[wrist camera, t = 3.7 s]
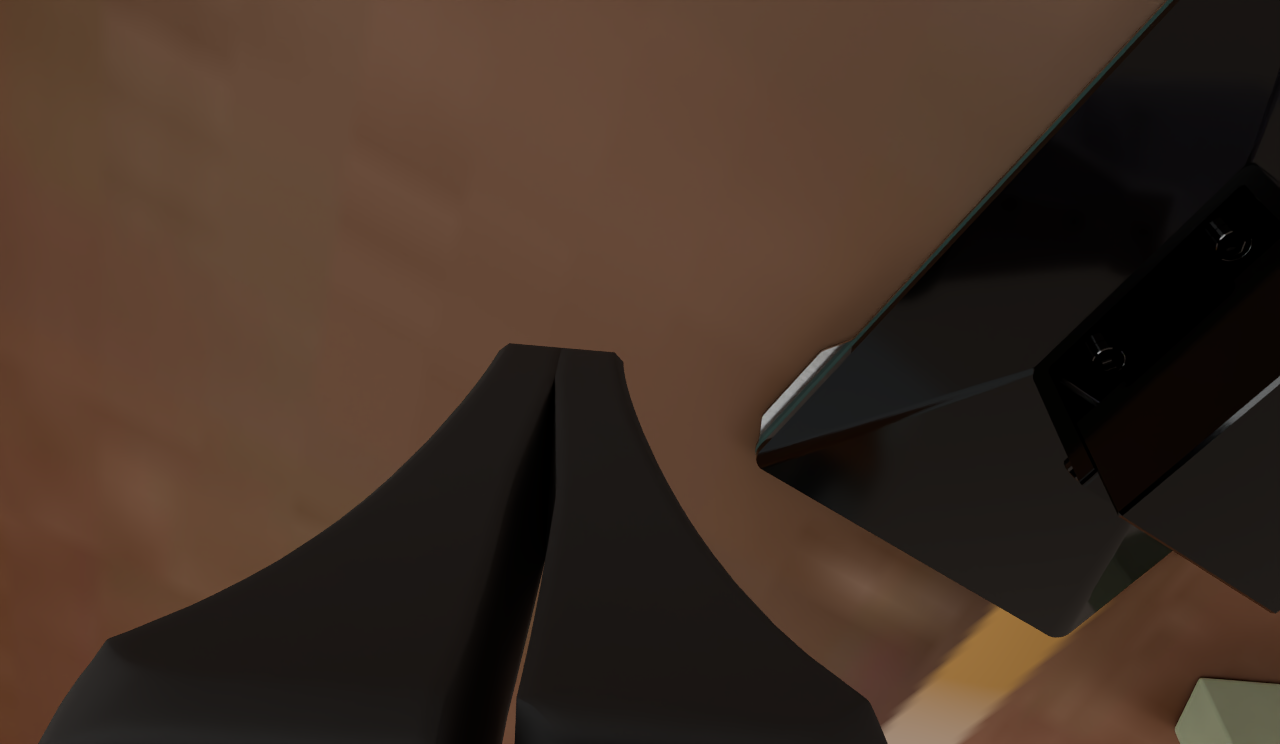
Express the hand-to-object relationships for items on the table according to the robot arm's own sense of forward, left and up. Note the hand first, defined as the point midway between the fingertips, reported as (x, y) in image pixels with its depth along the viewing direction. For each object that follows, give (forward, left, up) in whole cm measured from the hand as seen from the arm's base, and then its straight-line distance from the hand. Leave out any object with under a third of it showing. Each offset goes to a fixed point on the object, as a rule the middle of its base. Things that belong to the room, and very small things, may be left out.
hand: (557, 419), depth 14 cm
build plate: (-9, 0, -5) cm, 10 cm away
